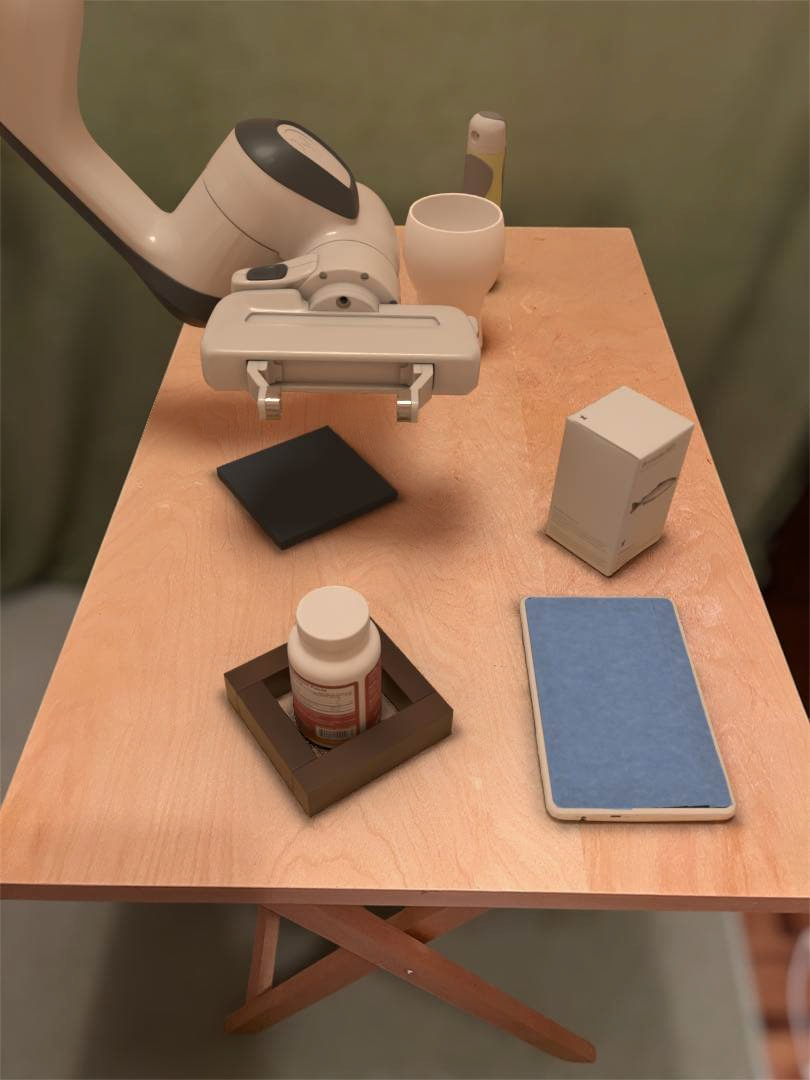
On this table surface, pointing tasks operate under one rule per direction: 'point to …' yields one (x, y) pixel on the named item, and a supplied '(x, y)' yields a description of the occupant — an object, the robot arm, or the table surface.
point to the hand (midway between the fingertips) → (338, 413)
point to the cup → (454, 250)
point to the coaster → (306, 486)
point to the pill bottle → (334, 666)
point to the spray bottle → (486, 157)
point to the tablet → (620, 712)
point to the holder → (356, 758)
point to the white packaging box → (616, 477)
